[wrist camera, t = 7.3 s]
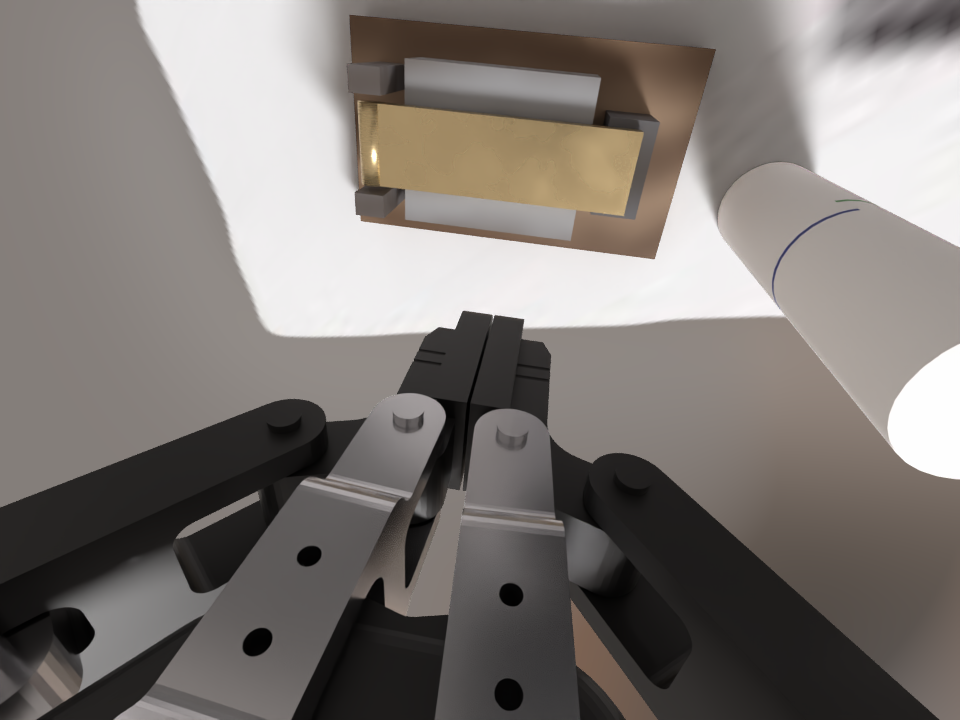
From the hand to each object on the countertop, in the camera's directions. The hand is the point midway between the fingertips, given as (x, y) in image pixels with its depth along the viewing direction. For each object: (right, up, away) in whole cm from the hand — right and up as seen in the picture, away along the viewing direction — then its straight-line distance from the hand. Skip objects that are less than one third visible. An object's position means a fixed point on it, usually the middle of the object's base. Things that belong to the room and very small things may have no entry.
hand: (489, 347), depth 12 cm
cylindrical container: (+22, +11, +26) cm, 36 cm away
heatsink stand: (+3, +17, +26) cm, 31 cm away
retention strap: (+1, +13, +20) cm, 24 cm away
